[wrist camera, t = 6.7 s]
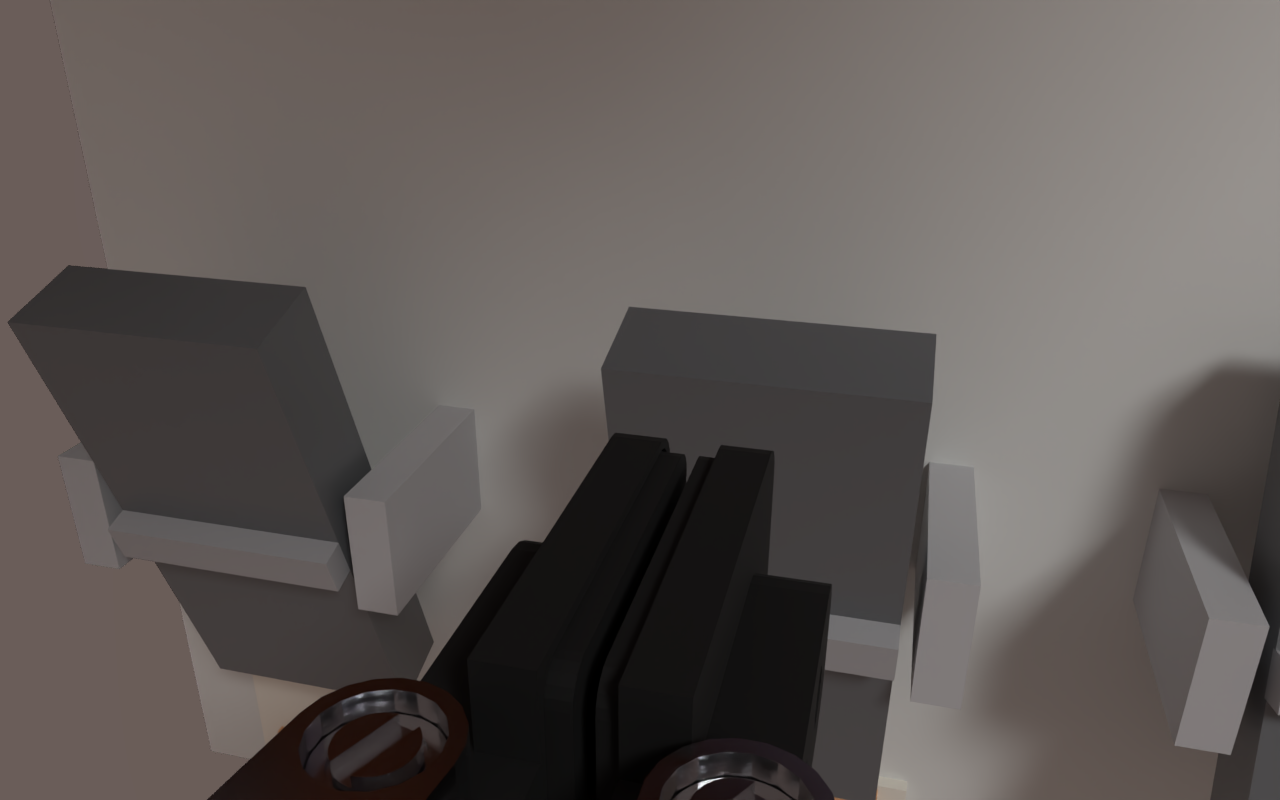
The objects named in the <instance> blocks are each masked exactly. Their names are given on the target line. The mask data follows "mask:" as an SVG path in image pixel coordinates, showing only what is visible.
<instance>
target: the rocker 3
mask: <svg viewBox="0 0 1280 800" xmlns="http://www.w3.org/2000/svg"><path fill="white" fill-rule="evenodd" d="M1248 582H1249V584H1250V586H1251V588H1252V590H1253V592H1254V594H1255V596H1256V599H1257V601H1258V603H1259V605H1260V607H1261V609H1262V611H1263V614H1264V616H1265V618H1266V620H1267V622H1268V624H1269V626H1270V627H1269V631H1268V634H1267V637H1266V641H1265V644H1264V647H1263V650H1262V654H1261V657H1260V660H1259V664H1258V667H1257V670H1256V673H1255V677H1254V680H1253V683H1252V687H1251V690H1250V693H1249V697H1248V700H1247V703H1246V706H1245V710H1244V713H1243V716H1242V720H1241V723H1240V726H1239V729H1238V733H1237V736H1236V739H1235V743H1234V746H1233V749H1232V752H1231V755H1227V754H1221V753H1218V758H1217V764H1216V769H1215V775H1214V781H1213V787H1212V792H1211V798H1210V800H1280V402H1279V408H1278V414H1277V419H1276V425H1275V431H1274V437H1273V442H1272V448H1271V454H1270V460H1269V465H1268V471H1267V477H1266V483H1265V488H1264V494H1263V500H1262V506H1261V511H1260V517H1259V523H1258V528H1257V534H1256V540H1255V546H1254V551H1253V557H1252V563H1251V569H1250V574H1249V580H1248Z"/></svg>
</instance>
